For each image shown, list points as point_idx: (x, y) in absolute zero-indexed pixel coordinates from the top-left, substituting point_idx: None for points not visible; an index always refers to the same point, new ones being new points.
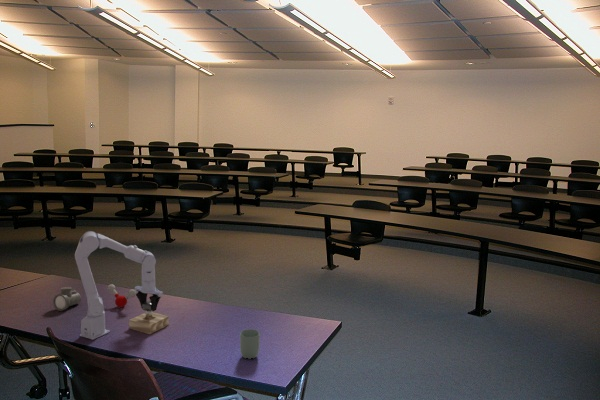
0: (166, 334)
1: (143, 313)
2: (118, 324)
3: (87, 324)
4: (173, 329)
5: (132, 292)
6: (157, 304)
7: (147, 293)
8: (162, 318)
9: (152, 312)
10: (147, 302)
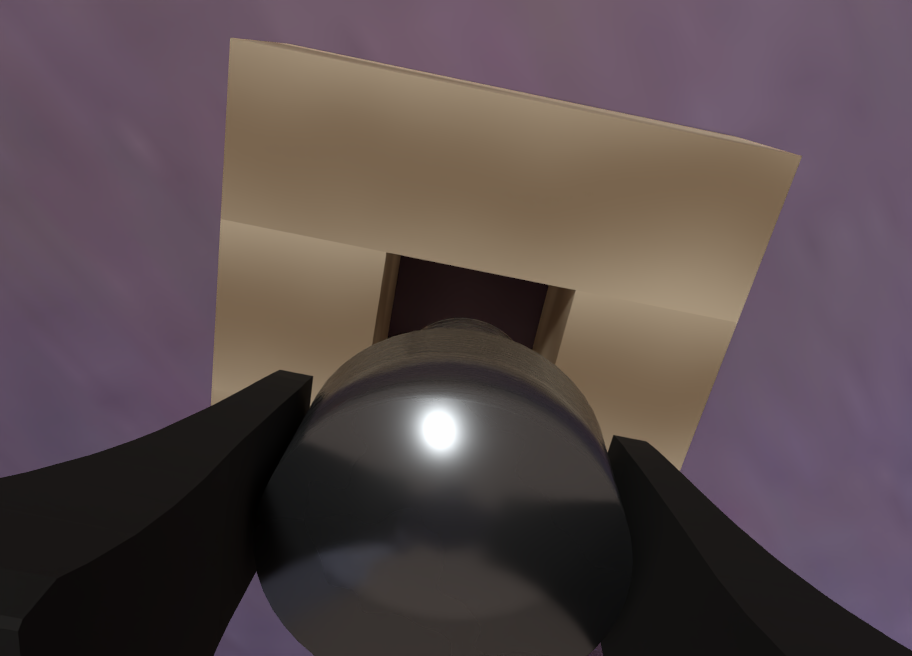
0: (824, 446)
1: (226, 195)
2: (34, 367)
3: None
4: (873, 274)
5: None
6: (727, 527)
7: (110, 556)
8: (714, 295)
9: (361, 80)
10: (363, 520)
